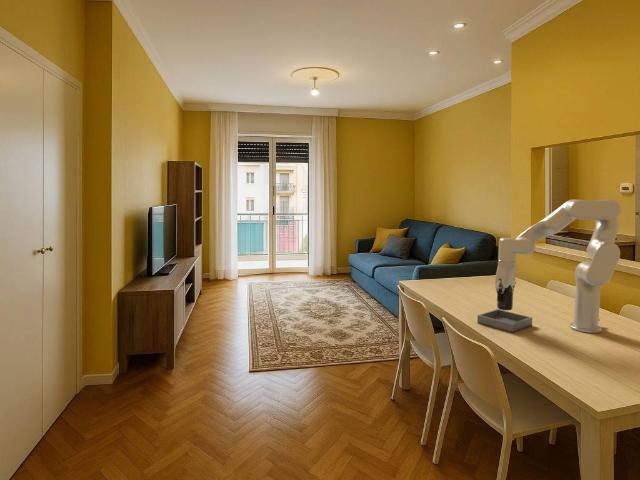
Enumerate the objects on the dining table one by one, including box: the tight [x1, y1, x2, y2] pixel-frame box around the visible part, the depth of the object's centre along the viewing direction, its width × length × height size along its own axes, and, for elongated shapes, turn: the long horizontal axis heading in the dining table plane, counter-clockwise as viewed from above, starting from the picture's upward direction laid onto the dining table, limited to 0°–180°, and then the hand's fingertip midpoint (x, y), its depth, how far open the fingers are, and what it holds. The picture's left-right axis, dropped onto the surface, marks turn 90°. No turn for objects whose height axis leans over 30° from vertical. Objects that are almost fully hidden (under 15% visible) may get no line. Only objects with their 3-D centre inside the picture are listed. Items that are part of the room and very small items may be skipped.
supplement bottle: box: [496, 285, 514, 311], centre depth 194 cm, size 7×7×12 cm
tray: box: [476, 308, 533, 334], centre depth 195 cm, size 17×18×4 cm
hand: (505, 299), depth 194 cm, fingers closed on supplement bottle, 6 cm apart
